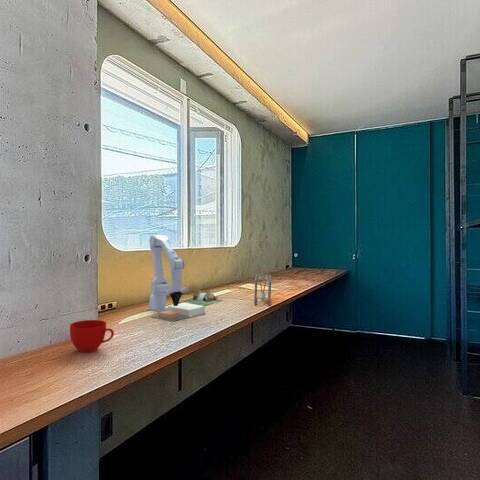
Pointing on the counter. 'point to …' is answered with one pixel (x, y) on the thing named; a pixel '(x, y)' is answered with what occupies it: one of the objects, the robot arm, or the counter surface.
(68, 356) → the counter surface
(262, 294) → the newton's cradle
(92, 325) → the ceramic cup
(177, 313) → the tile
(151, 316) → the mat
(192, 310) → the white platform
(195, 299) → the decorative card
